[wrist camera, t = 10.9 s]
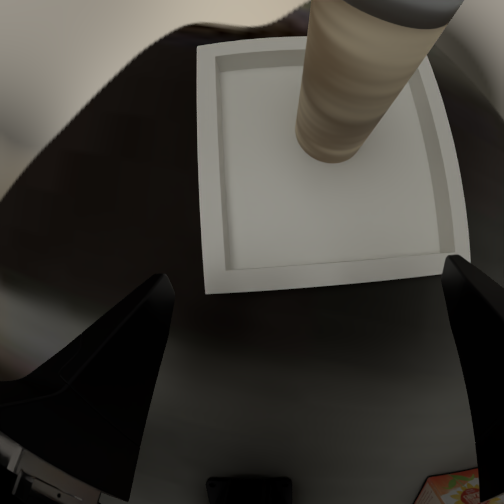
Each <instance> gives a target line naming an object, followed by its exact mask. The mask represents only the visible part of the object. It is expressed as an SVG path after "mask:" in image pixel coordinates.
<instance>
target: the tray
mask: <svg viewBox="0 0 504 504" xmlns="http://www.w3.org/2000/svg"><path fill="white" fill-rule="evenodd" d="M306 42H307V37H276V38H261V39H249V40H239V41H231V42H223V43H215V44H208V45H202V46H197V140H198V174H199V198H200V219H201V237H202V253H203V268H204V282H205V294H218V293H236V292H252V291H267V290H281V289H295V288H308V287H320V286H332V285H343V284H354V283H364V282H374V281H384V280H394V279H403V278H412V277H421V276H429V275H438V274H442V271H443V267H444V263H445V259H446V257H447V256H448V255H454V254H458V255H460V256H462V257H463V258H464V259H466V260H467V261H468V262H470V263H471V260H470V245H469V233H468V224H467V215H466V207H465V200H464V193H463V187H462V181H461V175H460V170H459V165H458V160H457V155H456V151H455V146H454V142H453V138H452V134H451V130H450V126H449V122H448V118H447V115H446V111H445V108H444V104H443V101H442V98H441V94H440V91H439V88H438V85H437V82H436V79H435V76H434V73H433V71H432V68H431V65H430V62H429V60H428V57H427V55H426V57H425V58H424V59H423V61H422V62H421V64H420V65H419V67H418V68H417V69H416V71H415V72H414V74H413V75H412V77H411V78H410V79H409V81H408V82H407V84H406V85H405V86H404V88H403V89H402V91H401V92H400V93H399V95H398V96H397V98H396V99H395V100H394V102H393V103H392V105H391V106H390V107H389V109H388V110H387V112H386V113H385V114H384V116H383V117H382V118H381V120H380V121H379V123H378V124H377V125H376V127H375V128H374V129H373V131H372V132H371V134H370V135H369V136H368V138H367V139H366V140H365V142H364V143H363V145H362V146H361V147H360V149H359V150H358V151H357V153H356V154H355V155H354V156H353V157H351V158H350V159H348V160H346V161H344V162H340V163H325V162H321V161H318V160H316V159H314V158H312V157H311V156H309V155H308V154H307V153H306V152H305V151H304V150H303V149H302V148H301V146H300V145H299V143H298V141H297V138H296V134H295V125H296V118H297V110H298V103H299V96H300V89H301V81H302V74H303V66H304V58H305V50H306Z"/></svg>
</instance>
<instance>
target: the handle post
mask: <svg viewBox="0 0 504 504" xmlns="http://www.w3.org/2000/svg"><path fill="white" fill-rule="evenodd" d="M463 1H464V0H311V9H310V18H309V26H308V34H307V42H306V50H305V58H304V66H303V74H302V81H301V89H300V96H299V103H298V110H297V118H296V125H295V134H296V138H297V141H298V143H299V145H300V146H301V148H302V149H303V150H304V151H305V152H306V153H307V154H308V155H309V156H311V157H312V158H314V159H316V160H318V161H321V162H325V163H340V162H344V161H346V160H348V159H350V158H351V157H353V156H354V155H355V154H356V153H357V151H358V150H359V149H360V147H361V146H362V145H363V143H364V142H365V140H366V139H367V138H368V136H369V135H370V134H371V132H372V131H373V129H374V128H375V127H376V125H377V124H378V123H379V121H380V120H381V118H382V117H383V116H384V114H385V113H386V112H387V110H388V109H389V107H390V106H391V105H392V103H393V102H394V100H395V99H396V98H397V96H398V95H399V93H400V92H401V91H402V89H403V88H404V86H405V85H406V84H407V82H408V81H409V79H410V78H411V77H412V75H413V74H414V72H415V71H416V69H417V68H418V67H419V65H420V64H421V62H422V61H423V59H424V58H425V57H426V55H427V54H428V52H429V51H430V49H431V48H432V47H433V45H434V44H435V42H436V41H437V39H438V38H439V36H440V35H441V33H442V32H443V30H444V29H445V28H446V26H447V25H448V23H449V21H450V20H451V19H452V17H453V16H454V14H455V13H456V11H457V10H458V8H459V7H460V5H461V4H462V2H463Z"/></svg>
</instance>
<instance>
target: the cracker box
mask: <svg viewBox="0 0 504 504" xmlns="http://www.w3.org/2000/svg"><path fill="white" fill-rule="evenodd" d="M414 504H504V495H501V496H499V497H496V498H494V499H491V500H488V501H485V502H483V503H480V495H479V476H478V468H476V469H472V470H467V471H462V472H457V473H452V474H446V475H440V476H433V477H429V478H428V479H427V481H426V483H425V485H424V487H423V489H422V490H421V492H420V494H419V496H418V498H417V499H416V501H415V503H414Z"/></svg>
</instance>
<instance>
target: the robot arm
mask: <svg viewBox="0 0 504 504" xmlns="http://www.w3.org/2000/svg"><path fill="white" fill-rule="evenodd" d="M441 281H442V287H443V291H444V296H445V300H446V305H447V310H448V316H449V321H450V325H451V329H452V332H453V336H454V339H455V343H456V347H457V351H458V355H459V358H460V363H461V367H462V371H463V375H464V380H465V384H466V389H467V394H468V399H469V405H470V410H471V416H472V422H473V429H474V436H475V442H476V443H475V445H476V454H477V464H478V476H479V495H480V503H483V502H485V501H488V500H491V499H494V498H496V497H499V496H501V495H504V288H503V287H501V286H500V285H499V284H498V283H496V282H495V281H494V280H492V279H491V278H490V277H489V276H487V275H486V274H485V273H483V272H482V271H481V270H479V269H478V268H477V267H475V266H474V265H473V264H471V263H470V262H468V261H467V260H466V259H464V258H463V257H462V256H460V255H458V254H454V255H448V256H447V257H446V259H445V263H444V267H443V271H442V276H441ZM174 300H175V293H174V290H173V288H172V285H171V283H170V281H169V279H168V277H167V275H166V274H154V275H152V276H151V277H150V278H149V279H147V280H146V281H145V282H144V283H142V284H141V285H140V286H139V287H137V288H136V289H135V290H134V291H132V292H131V293H130V294H129V295H127V296H126V297H125V298H124V299H122V300H121V301H120V302H119V303H117V304H116V305H115V306H114V307H113V308H111V309H110V310H109V311H108V312H106V313H105V314H104V315H103V316H102V317H100V318H99V319H98V320H97V321H96V322H94V323H93V324H92V325H91V326H90V327H88V328H87V329H86V330H85V331H84V332H82V334H80V335H79V336H78V337H76V338H75V339H74V340H73V341H72V342H70V343H69V344H68V345H67V346H66V347H64V348H63V349H62V350H61V351H59V352H58V353H57V354H55V355H54V356H53V357H51V358H50V359H49V360H47V361H46V362H45V363H43V364H42V365H41V366H39V367H38V368H37V369H35V370H34V371H33V372H31V373H30V374H28V375H27V376H25V377H23V378H21V379H18V380H12V381H0V504H101V503H99V499H100V495H101V493H104V494H106V495H109V496H112V497H115V498H117V499H120V500H123V501H126V502H128V501H129V498H130V493H131V488H132V483H133V478H134V473H135V469H136V464H137V459H138V455H139V450H140V445H141V441H142V437H143V432H144V428H145V424H146V420H147V416H148V411H149V407H150V403H151V399H152V395H153V392H154V388H155V384H156V380H157V376H158V372H159V369H160V365H161V361H162V358H163V354H164V350H165V347H166V343H167V339H168V335H169V329H170V323H171V318H172V312H173V306H174ZM211 483H214V484H215V485H213V484H211ZM283 483H288V484H283ZM206 488H207V493H208V498H209V502H210V504H292V481H291V479H289V478H268V479H225V478H209V479H208V480H207V482H206Z"/></svg>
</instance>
